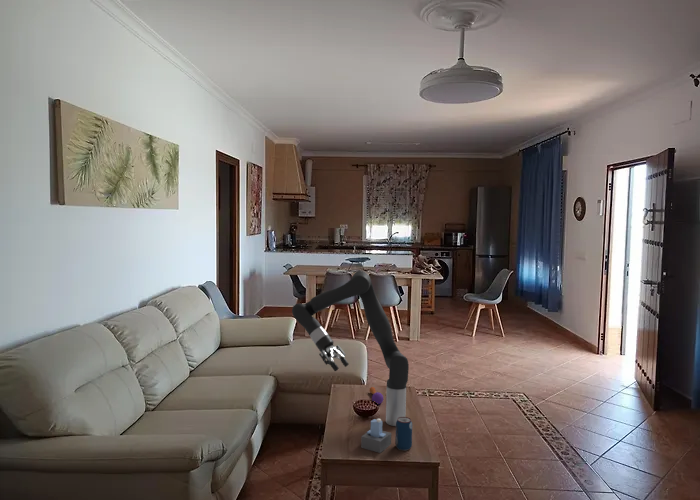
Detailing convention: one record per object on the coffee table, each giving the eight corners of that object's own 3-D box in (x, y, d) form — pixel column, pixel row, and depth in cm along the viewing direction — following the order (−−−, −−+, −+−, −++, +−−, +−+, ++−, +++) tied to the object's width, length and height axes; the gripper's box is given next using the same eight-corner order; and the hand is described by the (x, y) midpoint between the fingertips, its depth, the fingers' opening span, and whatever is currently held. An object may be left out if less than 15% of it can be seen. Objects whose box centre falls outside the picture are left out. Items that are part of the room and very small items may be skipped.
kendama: (378, 385, 274) (385, 395, 254) (376, 396, 273) (383, 406, 254) (368, 383, 273) (374, 393, 253) (366, 394, 273) (372, 404, 253)
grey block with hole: (372, 439, 213) (372, 428, 213) (391, 444, 208) (391, 433, 208) (361, 447, 204) (361, 436, 204) (380, 453, 200) (380, 441, 199)
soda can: (415, 447, 205) (415, 419, 205) (404, 452, 200) (405, 424, 200) (402, 442, 210) (403, 414, 210) (391, 447, 205) (392, 419, 205)
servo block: (366, 445, 207) (367, 418, 206) (369, 442, 209) (370, 415, 209) (382, 449, 203) (383, 422, 202) (385, 446, 206) (386, 419, 205)
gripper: (317, 336, 218) (338, 366, 212) (334, 331, 230) (355, 359, 224) (307, 347, 221) (328, 376, 215) (325, 341, 233) (345, 368, 227)
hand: (342, 367), depth 220 cm, fingers open, 8 cm apart
